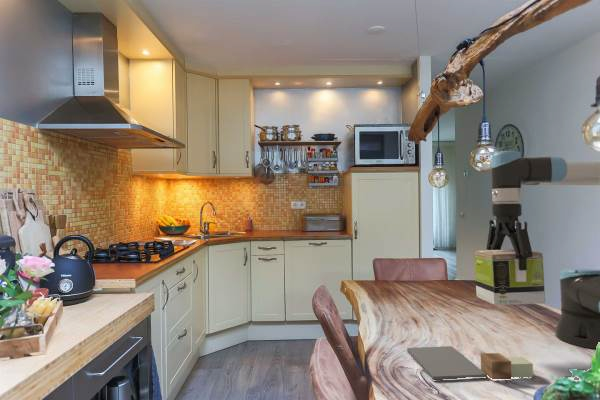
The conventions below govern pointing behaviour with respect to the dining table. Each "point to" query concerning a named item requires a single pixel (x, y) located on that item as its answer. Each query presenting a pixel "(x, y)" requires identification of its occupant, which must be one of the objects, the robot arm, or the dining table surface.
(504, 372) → the walnut cube
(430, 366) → the block
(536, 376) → the dining table surface
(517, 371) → the sage painted block
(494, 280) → the tea box
